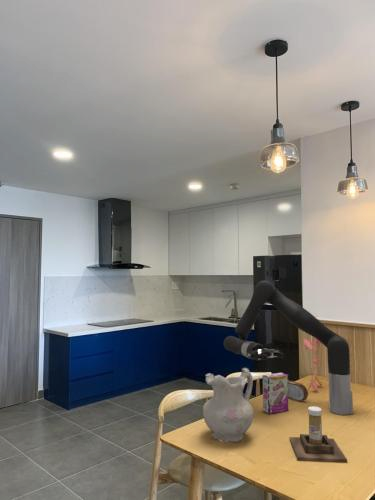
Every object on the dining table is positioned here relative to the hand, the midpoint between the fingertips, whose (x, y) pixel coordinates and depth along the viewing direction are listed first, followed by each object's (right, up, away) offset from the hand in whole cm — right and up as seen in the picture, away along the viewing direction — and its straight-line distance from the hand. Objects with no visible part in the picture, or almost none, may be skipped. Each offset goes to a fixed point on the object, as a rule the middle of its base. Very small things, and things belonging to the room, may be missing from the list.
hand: (275, 357), depth 157 cm
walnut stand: (+9, -26, -25) cm, 37 cm away
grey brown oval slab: (+17, -30, +31) cm, 46 cm away
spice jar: (+9, -25, -25) cm, 36 cm away
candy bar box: (+4, -29, +14) cm, 32 cm away
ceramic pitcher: (-20, -27, -12) cm, 36 cm away
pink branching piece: (+36, -31, +44) cm, 65 cm away
